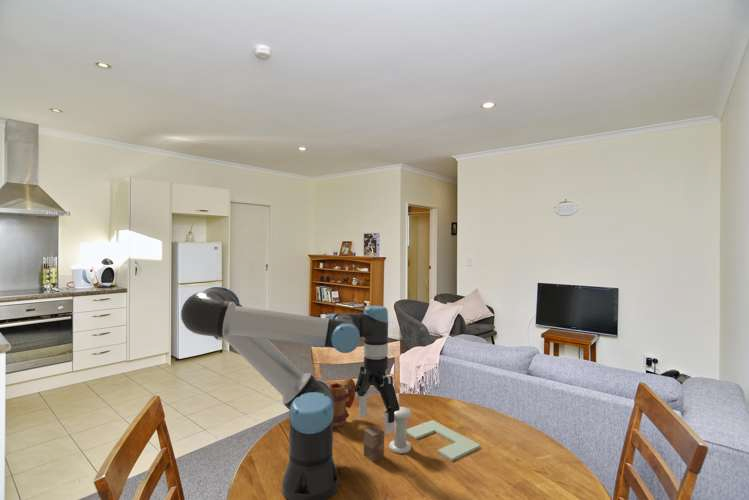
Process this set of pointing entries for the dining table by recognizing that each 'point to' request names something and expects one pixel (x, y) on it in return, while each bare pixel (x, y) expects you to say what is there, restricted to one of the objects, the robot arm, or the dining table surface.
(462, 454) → the notched board
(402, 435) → the knob
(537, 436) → the dining table surface
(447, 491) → the dining table surface
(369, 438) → the block
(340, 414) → the mug
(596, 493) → the dining table surface
